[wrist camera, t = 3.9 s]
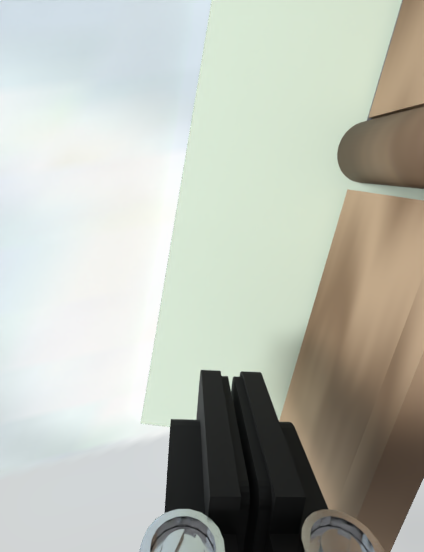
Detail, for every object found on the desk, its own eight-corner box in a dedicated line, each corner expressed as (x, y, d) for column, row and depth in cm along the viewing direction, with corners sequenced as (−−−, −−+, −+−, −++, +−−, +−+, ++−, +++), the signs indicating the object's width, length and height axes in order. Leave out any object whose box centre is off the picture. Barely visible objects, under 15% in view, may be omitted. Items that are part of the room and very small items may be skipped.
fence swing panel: (333, 186, 12) (539, 215, 5) (382, 196, 12) (646, 238, 5) (256, 459, 15) (315, 713, 8) (296, 464, 16) (387, 715, 8)
